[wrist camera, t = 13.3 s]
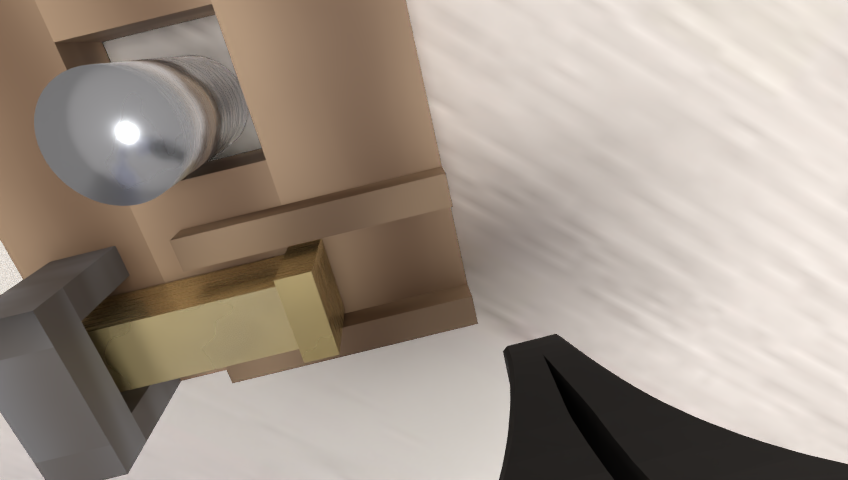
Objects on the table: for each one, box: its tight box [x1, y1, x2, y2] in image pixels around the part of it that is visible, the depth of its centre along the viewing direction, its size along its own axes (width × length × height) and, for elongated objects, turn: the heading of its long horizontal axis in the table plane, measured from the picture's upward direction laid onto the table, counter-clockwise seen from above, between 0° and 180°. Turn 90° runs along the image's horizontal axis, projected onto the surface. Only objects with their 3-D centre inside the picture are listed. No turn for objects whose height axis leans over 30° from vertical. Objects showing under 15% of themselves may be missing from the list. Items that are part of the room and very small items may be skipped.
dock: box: [0, 0, 478, 480], centre depth 14 cm, size 13×12×6 cm
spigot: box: [34, 56, 248, 206], centre depth 14 cm, size 3×3×6 cm
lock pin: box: [81, 238, 345, 392], centre depth 15 cm, size 8×3×3 cm, turn 103°
